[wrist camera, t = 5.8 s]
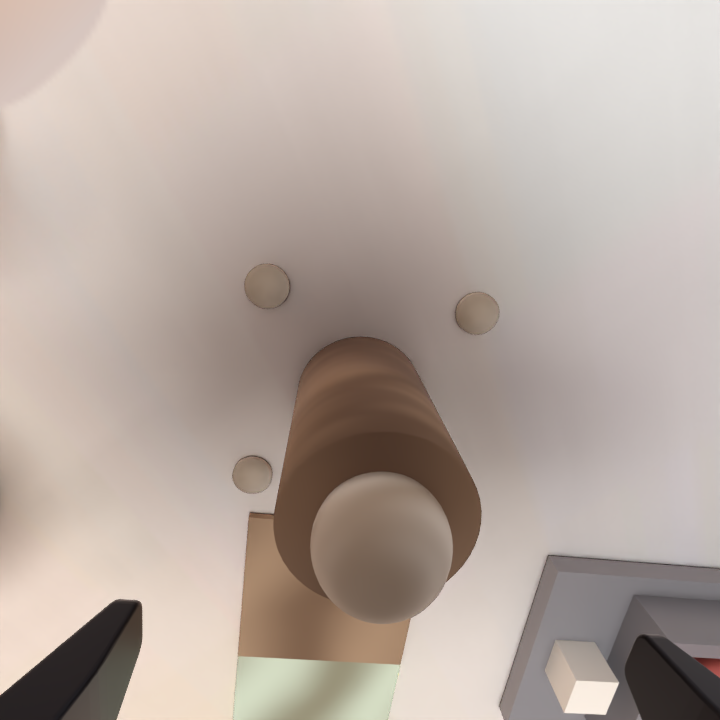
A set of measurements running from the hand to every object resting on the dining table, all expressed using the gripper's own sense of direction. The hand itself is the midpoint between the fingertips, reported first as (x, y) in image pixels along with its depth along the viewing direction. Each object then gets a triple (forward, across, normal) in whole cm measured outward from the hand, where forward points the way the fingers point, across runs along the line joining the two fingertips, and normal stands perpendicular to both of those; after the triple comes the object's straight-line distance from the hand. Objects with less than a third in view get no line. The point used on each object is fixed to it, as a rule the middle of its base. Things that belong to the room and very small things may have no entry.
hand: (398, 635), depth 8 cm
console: (+11, -16, +12) cm, 23 cm away
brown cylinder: (+11, 0, 0) cm, 11 cm away
